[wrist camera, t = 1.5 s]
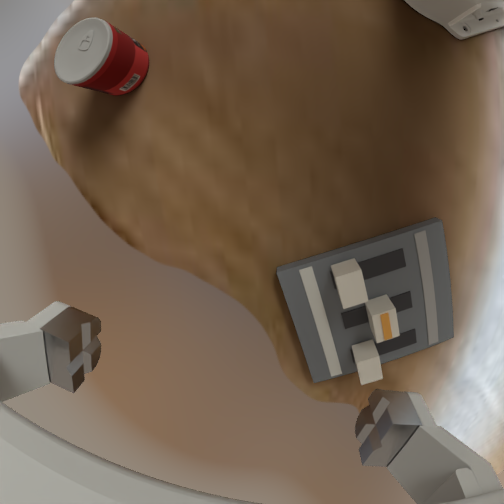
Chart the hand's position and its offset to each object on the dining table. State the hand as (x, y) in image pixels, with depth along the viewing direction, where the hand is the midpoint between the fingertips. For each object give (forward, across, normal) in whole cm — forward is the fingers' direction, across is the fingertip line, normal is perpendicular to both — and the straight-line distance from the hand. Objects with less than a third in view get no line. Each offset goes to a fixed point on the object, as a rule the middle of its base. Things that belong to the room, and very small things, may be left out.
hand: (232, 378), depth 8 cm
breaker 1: (+30, -11, +5) cm, 32 cm away
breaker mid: (+30, -17, +8) cm, 35 cm away
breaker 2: (+30, -18, +15) cm, 38 cm away
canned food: (+32, +23, -15) cm, 42 cm away
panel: (+32, -17, +8) cm, 37 cm away
